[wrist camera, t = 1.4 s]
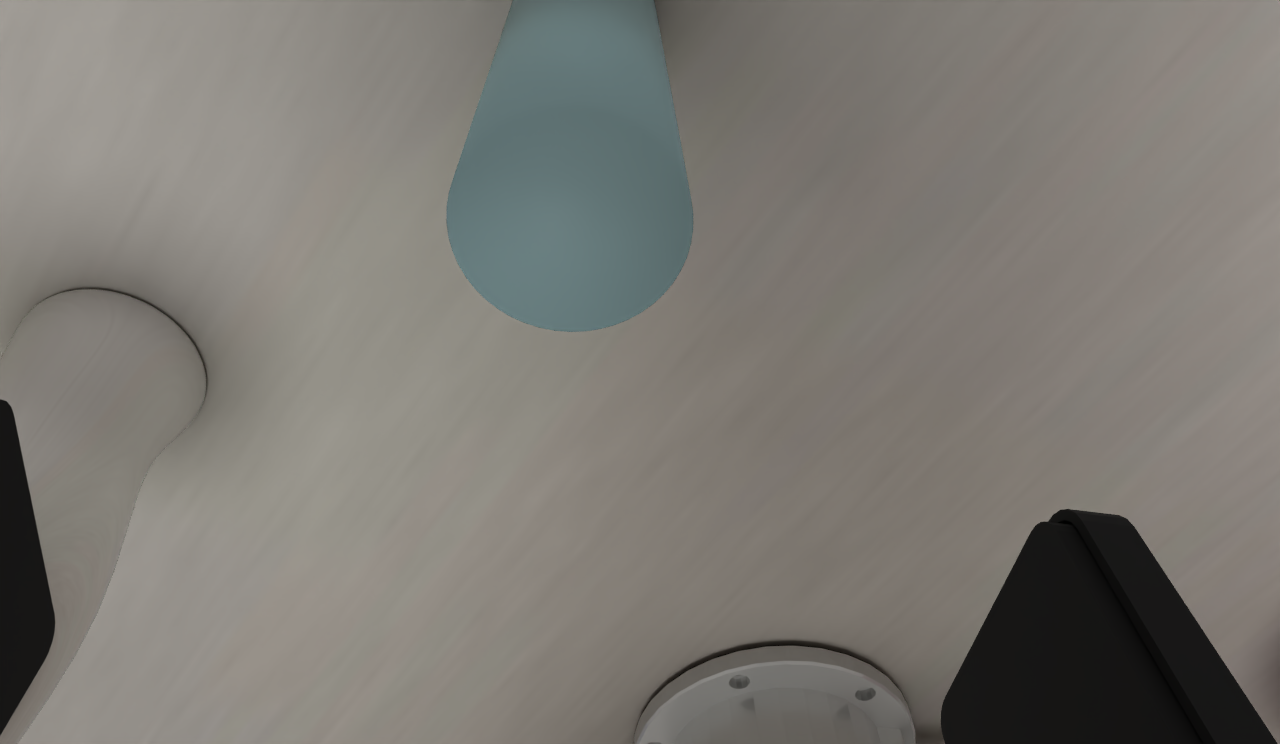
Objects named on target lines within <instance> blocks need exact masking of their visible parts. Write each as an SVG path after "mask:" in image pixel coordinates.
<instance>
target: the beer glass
mask: <svg viewBox="0 0 1280 744" xmlns="http://www.w3.org/2000/svg"><path fill="white" fill-rule="evenodd" d="M205 393H206V373H205V368H204V365H203V362H202V359H201V357H200V354H199V352H198V350H197V349H196V347H195V345H194V344H193V342H192V341H191V340H190V338H189V337H188V336H187V334H186V333H185V332H184V331H183V330H182V329H181V328H180V327H179V326H178V325H177V324H176V323H175V322H174V321H173V320H171V319H170V318H169V317H168V316H166V315H165V314H164V313H162V312H161V311H159V310H158V309H156V308H154V307H153V306H151V305H149V304H147V303H145V302H143V301H141V300H139V299H136V298H134V297H131V296H128V295H125V294H121V293H117V292H113V291H108V290H100V289H77V290H70V291H66V292H62V293H59V294H56V295H53V296H51V297H49V298H47V299H45V300H43V301H42V302H40V303H39V304H37V305H36V306H35V307H33V308H32V309H31V310H30V311H29V312H28V314H27V315H26V316H25V317H24V318H23V320H22V321H21V322H20V324H19V326H18V327H17V329H16V331H15V333H14V334H13V336H12V338H11V340H10V342H9V344H8V346H7V348H6V350H5V352H4V354H3V355H2V357H1V359H0V399H1V400H4V401H7V402H8V403H9V405H10V406H11V408H12V410H13V413H14V417H15V422H16V427H17V432H18V437H19V442H20V447H21V452H22V457H23V461H24V466H25V471H26V476H27V481H28V486H29V491H30V496H31V501H32V506H33V510H34V515H35V520H36V525H37V530H38V535H39V540H40V545H41V550H42V555H43V560H44V564H45V569H46V574H47V579H48V584H49V589H50V594H51V599H52V604H53V609H54V613H55V632H54V637H53V642H52V645H51V648H50V650H49V653H48V655H47V657H46V659H45V661H44V663H43V664H42V666H41V668H40V669H39V671H38V673H37V675H36V676H35V678H34V680H33V681H32V683H31V685H30V686H29V688H28V690H27V691H26V693H25V695H24V697H23V698H22V700H21V702H20V703H19V705H18V707H17V708H16V710H15V712H14V713H13V715H12V717H11V718H10V720H9V722H8V724H7V725H6V727H5V729H4V730H3V732H2V734H1V735H0V744H18V743H19V741H20V740H21V739H22V737H23V736H24V734H25V733H26V732H27V730H28V729H29V727H30V726H31V724H32V723H33V721H34V720H35V718H36V717H37V715H38V714H39V712H40V711H41V710H42V708H43V707H44V705H45V704H46V702H47V701H48V699H49V698H50V696H51V695H52V693H53V691H54V690H55V688H56V687H57V685H58V683H59V682H60V680H61V679H62V677H63V675H64V674H65V672H66V670H67V669H68V667H69V666H70V664H71V662H72V661H73V659H74V658H75V656H76V654H77V652H78V650H79V648H80V646H81V644H82V642H83V641H84V639H85V637H86V635H87V633H88V631H89V629H90V627H91V625H92V623H93V621H94V619H95V618H96V616H97V614H98V611H99V609H100V606H101V604H102V601H103V599H104V596H105V594H106V591H107V588H108V586H109V583H110V581H111V578H112V576H113V573H114V570H115V567H116V564H117V561H118V558H119V555H120V552H121V549H122V546H123V542H124V539H125V536H126V533H127V530H128V526H129V523H130V520H131V516H132V513H133V510H134V506H135V503H136V500H137V497H138V494H139V492H140V489H141V486H142V483H143V481H144V479H145V477H146V475H147V473H148V471H149V469H150V467H151V465H152V464H153V463H154V461H155V460H156V458H157V457H158V456H159V455H160V454H161V452H162V451H163V450H164V449H165V448H166V447H167V446H168V445H169V444H170V443H172V442H173V441H174V440H175V439H176V438H177V437H178V436H179V435H180V434H181V433H182V432H183V431H184V430H185V429H186V428H187V427H188V426H189V425H190V424H191V422H192V421H193V420H194V419H195V417H196V416H197V414H198V413H199V411H200V409H201V407H202V405H203V402H204V398H205Z"/></svg>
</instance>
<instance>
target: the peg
mask: <svg viewBox="0 0 1280 744" xmlns="http://www.w3.org/2000/svg"><path fill="white" fill-rule="evenodd" d="M447 229H448V236H449V240H450V244H451V247H452V251H453V253H454V256H455V258H456V260H457V262H458V265H459V266H460V268H461V270H462V271H463V273H464V275H465V276H466V278H467V279H468V280H469V282H470V283H471V284H472V286H473V287H474V288H475V289H476V290H477V291H478V292H479V293H480V294H481V295H482V296H483V297H484V298H485V299H486V300H487V301H488V302H490V303H491V304H492V305H494V306H495V307H496V308H497V309H499V310H501V311H502V312H504V313H506V314H507V315H509V316H511V317H513V318H515V319H517V320H519V321H522V322H524V323H527V324H530V325H533V326H536V327H539V328H544V329H549V330H554V331H567V332H578V331H590V330H597V329H602V328H606V327H609V326H613V325H616V324H618V323H621V322H623V321H626V320H628V319H630V318H632V317H634V316H636V315H638V314H639V313H641V312H643V311H644V310H645V309H647V308H648V307H650V306H651V305H652V304H654V303H655V302H656V301H657V300H658V299H659V298H660V297H661V296H662V295H663V294H664V293H665V292H666V291H667V290H668V288H669V287H670V286H671V285H672V284H673V282H674V281H675V279H676V277H677V276H678V274H679V273H680V271H681V269H682V267H683V265H684V262H685V260H686V258H687V255H688V252H689V248H690V245H691V239H692V233H693V210H692V202H691V196H690V191H689V185H688V180H687V174H686V169H685V164H684V158H683V153H682V147H681V142H680V137H679V131H678V126H677V120H676V115H675V110H674V104H673V99H672V94H671V88H670V83H669V77H668V72H667V67H666V61H665V56H664V50H663V45H662V40H661V34H660V29H659V23H658V18H657V13H656V7H655V2H654V0H513V2H512V5H511V8H510V11H509V14H508V17H507V20H506V23H505V26H504V29H503V32H502V35H501V38H500V41H499V44H498V47H497V50H496V52H495V55H494V58H493V61H492V64H491V67H490V70H489V73H488V76H487V79H486V82H485V85H484V88H483V91H482V94H481V97H480V100H479V103H478V106H477V109H476V112H475V115H474V118H473V121H472V124H471V127H470V130H469V133H468V136H467V139H466V142H465V145H464V148H463V151H462V154H461V157H460V160H459V163H458V166H457V169H456V172H455V175H454V178H453V181H452V184H451V187H450V191H449V196H448V202H447Z"/></svg>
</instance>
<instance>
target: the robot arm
mask: <svg viewBox="0 0 1280 744" xmlns="http://www.w3.org/2000/svg"><path fill="white" fill-rule="evenodd" d="M54 632H55V613H54V609H53V604H52V599H51V594H50V589H49V584H48V579H47V574H46V569H45V564H44V560H43V555H42V550H41V545H40V540H39V535H38V530H37V525H36V520H35V515H34V510H33V506H32V501H31V496H30V491H29V486H28V481H27V476H26V471H25V466H24V461H23V457H22V452H21V447H20V442H19V437H18V432H17V427H16V422H15V417H14V413H13V410H12V408H11V406H10V405H9V403H8V402H7V401H4V400H1V399H0V735H1V734H2V732H3V730H4V729H5V727H6V725H7V724H8V722H9V720H10V718H11V717H12V715H13V713H14V712H15V710H16V708H17V707H18V705H19V703H20V702H21V700H22V698H23V697H24V695H25V693H26V691H27V690H28V688H29V686H30V685H31V683H32V681H33V680H34V678H35V676H36V675H37V673H38V671H39V669H40V668H41V666H42V664H43V663H44V661H45V659H46V657H47V655H48V653H49V650H50V648H51V645H52V642H53V637H54ZM941 728H942V734H943V738H944V741H945V744H1277V742H1276V741H1275V739H1274V738H1273V736H1272V735H1271V733H1270V732H1269V730H1268V729H1267V727H1266V726H1265V724H1264V722H1263V721H1262V719H1261V718H1260V716H1259V715H1258V713H1257V712H1256V710H1255V709H1254V707H1253V706H1252V704H1251V703H1250V701H1249V700H1248V698H1247V697H1246V695H1245V694H1244V692H1243V691H1242V689H1241V688H1240V686H1239V685H1238V683H1237V682H1236V680H1235V679H1234V677H1233V676H1232V674H1231V673H1230V671H1229V670H1228V668H1227V666H1226V665H1225V663H1224V662H1223V660H1222V659H1221V657H1220V656H1219V654H1218V653H1217V651H1216V650H1215V648H1214V647H1213V645H1212V644H1211V642H1210V641H1209V639H1208V638H1207V636H1206V635H1205V633H1204V632H1203V630H1202V629H1201V627H1200V626H1199V624H1198V623H1197V621H1196V620H1195V618H1194V617H1193V615H1192V613H1191V612H1190V610H1189V609H1188V607H1187V606H1186V604H1185V603H1184V601H1183V600H1182V598H1181V597H1180V595H1179V594H1178V592H1177V591H1176V589H1175V588H1174V586H1173V585H1172V583H1171V582H1170V580H1169V579H1168V577H1167V576H1166V574H1165V573H1164V571H1163V570H1162V568H1161V567H1160V565H1159V564H1158V562H1157V561H1156V559H1155V557H1154V556H1153V554H1152V553H1151V551H1150V550H1149V548H1148V547H1147V545H1146V544H1145V542H1144V541H1143V539H1142V538H1141V536H1140V535H1139V533H1138V532H1137V530H1136V529H1135V527H1134V526H1133V525H1132V524H1131V523H1130V522H1129V521H1128V519H1126V518H1124V517H1122V516H1119V515H1112V514H1104V513H1095V512H1087V511H1079V510H1070V509H1065V510H1060V511H1058V512H1057V513H1055V514H1054V515H1053V516H1052V517H1051V519H1050V520H1049V521H1048V522H1040V523H1039V524H1037V525H1036V526H1035V527H1034V529H1033V530H1032V531H1031V533H1030V535H1029V537H1028V539H1027V541H1026V543H1025V545H1024V547H1023V548H1022V550H1021V552H1020V554H1019V556H1018V558H1017V560H1016V562H1015V564H1014V566H1013V568H1012V570H1011V572H1010V574H1009V575H1008V577H1007V579H1006V581H1005V583H1004V585H1003V587H1002V589H1001V591H1000V593H999V595H998V597H997V599H996V600H995V602H994V604H993V606H992V608H991V610H990V612H989V614H988V616H987V618H986V620H985V622H984V624H983V625H982V627H981V629H980V631H979V633H978V635H977V637H976V639H975V641H974V643H973V645H972V647H971V649H970V650H969V652H968V654H967V656H966V658H965V660H964V662H963V664H962V666H961V668H960V670H959V672H958V674H957V676H956V677H955V679H954V681H953V683H952V685H951V687H950V689H949V691H948V693H947V695H946V697H945V699H944V702H943V705H942V711H941ZM634 744H915V728H914V724H913V721H912V717H911V714H910V711H909V707H908V705H907V703H906V701H905V699H904V697H903V695H902V693H901V691H900V690H899V689H898V688H897V687H896V686H895V685H894V683H893V682H892V681H891V680H890V679H889V678H888V677H887V676H886V675H884V674H883V673H881V672H880V671H878V670H877V669H876V668H874V667H873V666H871V665H870V664H868V663H865V662H863V661H861V660H858V659H856V658H854V657H851V656H849V655H846V654H842V653H838V652H834V651H830V650H826V649H822V648H814V647H804V646H766V647H760V648H754V649H748V650H742V651H737V652H734V653H731V654H727V655H724V656H721V657H718V658H714V659H712V660H709V661H707V662H705V663H703V664H701V665H699V666H697V667H694V668H692V669H690V670H688V671H687V672H685V673H684V674H682V675H681V676H679V677H678V678H676V679H675V680H673V681H672V682H670V683H669V684H667V685H666V686H665V687H664V688H663V689H662V690H661V691H660V692H659V693H658V694H657V695H656V696H655V697H654V698H653V699H652V700H651V701H650V703H649V704H648V706H647V707H646V709H645V710H644V712H643V713H642V715H641V716H640V719H639V722H638V725H637V728H636V731H635V734H634Z"/></svg>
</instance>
